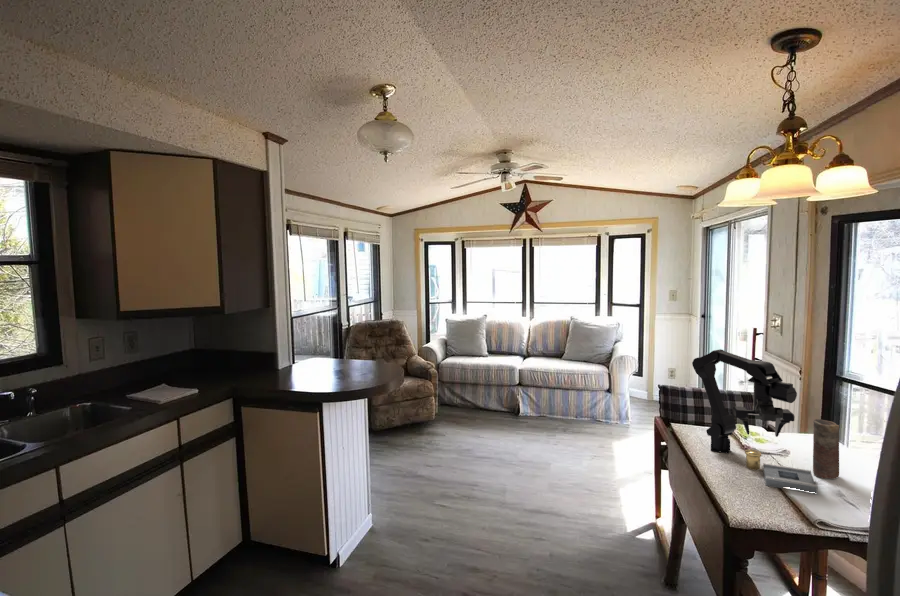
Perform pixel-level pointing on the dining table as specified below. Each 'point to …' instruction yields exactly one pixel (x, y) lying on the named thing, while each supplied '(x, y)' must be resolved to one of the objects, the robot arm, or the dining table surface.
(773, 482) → the jig
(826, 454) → the candle
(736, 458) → the dining table surface
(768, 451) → the dining table surface
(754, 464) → the gold flared round piece
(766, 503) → the dining table surface
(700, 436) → the dining table surface
